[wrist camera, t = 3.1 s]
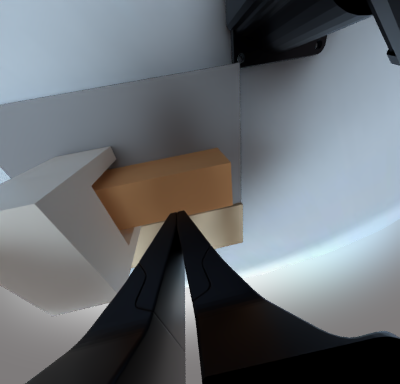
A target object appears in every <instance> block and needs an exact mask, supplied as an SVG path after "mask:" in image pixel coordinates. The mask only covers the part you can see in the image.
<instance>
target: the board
mask: <svg viewBox="0 0 400 384" xmlns="http://www.w3.org/2000/svg"><path fill="white" fill-rule="evenodd" d="M109 146H110V147H111V149H112V151H113V153H114V155H115V157H116V160H115V161H114V162H113V163H112V164H111V165H110V166H109V168H108V169H107V170H109V169H114V168H119V167H124V166H129V165H134V164H139V163H144V162H149V161H154V160H159V159H164V158H169V157H174V156H179V155H184V154H189V153H193V152H198V151H203V150H208V149H213V148H218V149H219V150H220V151H221V152H222V153H223V154H224V155H225V157H226V158H227V159H228V160H229V161H230V162H231V176H232V197H233V204H235V203H240V202H241V135H240V63H235V64H229V65H223V66H218V67H212V68H206V69H201V70H195V71H189V72H184V73H178V74H172V75H167V76H161V77H155V78H150V79H144V80H138V81H133V82H127V83H121V84H116V85H110V86H104V87H99V88H93V89H87V90H82V91H76V92H70V93H65V94H59V95H53V96H48V97H42V98H36V99H31V100H25V101H19V102H14V103H8V104H2V105H0V167H1V168H2V169H3V170H4V171H5V173H6V174H7V175H8V176H9V177H10V178H13V177H15V176H17V175H20V174H22V173H24V172H26V171H28V170H30V169H32V168H34V167H36V166H38V165H40V164H42V163H44V162H46V161H48V160H50V159H52V158H54V157H58V156H63V155H68V154H73V153H78V152H83V151H88V150H94V149H99V148H104V147H109Z"/></svg>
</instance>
